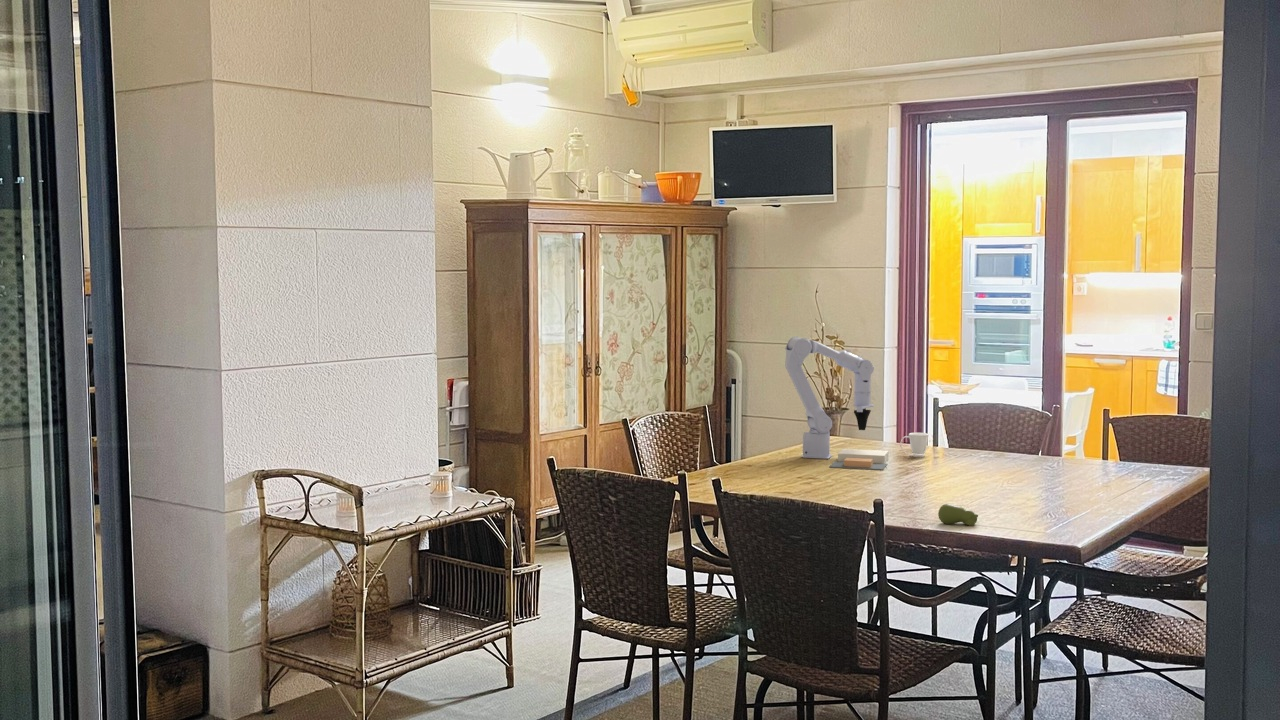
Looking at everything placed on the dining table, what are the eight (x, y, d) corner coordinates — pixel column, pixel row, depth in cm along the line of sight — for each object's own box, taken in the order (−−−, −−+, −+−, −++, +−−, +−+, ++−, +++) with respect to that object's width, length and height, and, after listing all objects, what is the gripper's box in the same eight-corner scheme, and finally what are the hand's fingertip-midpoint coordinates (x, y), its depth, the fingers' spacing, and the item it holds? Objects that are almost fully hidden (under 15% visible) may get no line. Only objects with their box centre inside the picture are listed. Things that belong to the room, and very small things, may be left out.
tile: (846, 457, 401) (846, 463, 401) (843, 460, 395) (843, 466, 396) (872, 458, 398) (872, 464, 399) (870, 461, 393) (870, 467, 393)
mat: (829, 467, 395) (829, 466, 395) (834, 462, 407) (834, 461, 407) (883, 470, 390) (883, 469, 390) (887, 464, 401) (887, 463, 401)
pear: (940, 500, 308) (978, 508, 306) (936, 519, 309) (974, 527, 307) (940, 504, 303) (980, 512, 301) (936, 523, 303) (976, 532, 301)
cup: (929, 457, 417) (929, 435, 416) (900, 456, 419) (900, 434, 418) (927, 454, 424) (928, 432, 423) (899, 454, 425) (899, 432, 425)
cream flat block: (837, 462, 407) (838, 453, 407) (843, 457, 418) (843, 448, 418) (884, 464, 402) (884, 455, 402) (888, 459, 413) (888, 450, 413)
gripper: (871, 394, 411) (870, 432, 412) (876, 390, 425) (875, 427, 426) (851, 394, 414) (850, 432, 414) (856, 390, 427) (856, 427, 428)
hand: (862, 429), depth 420 cm, fingers closed
